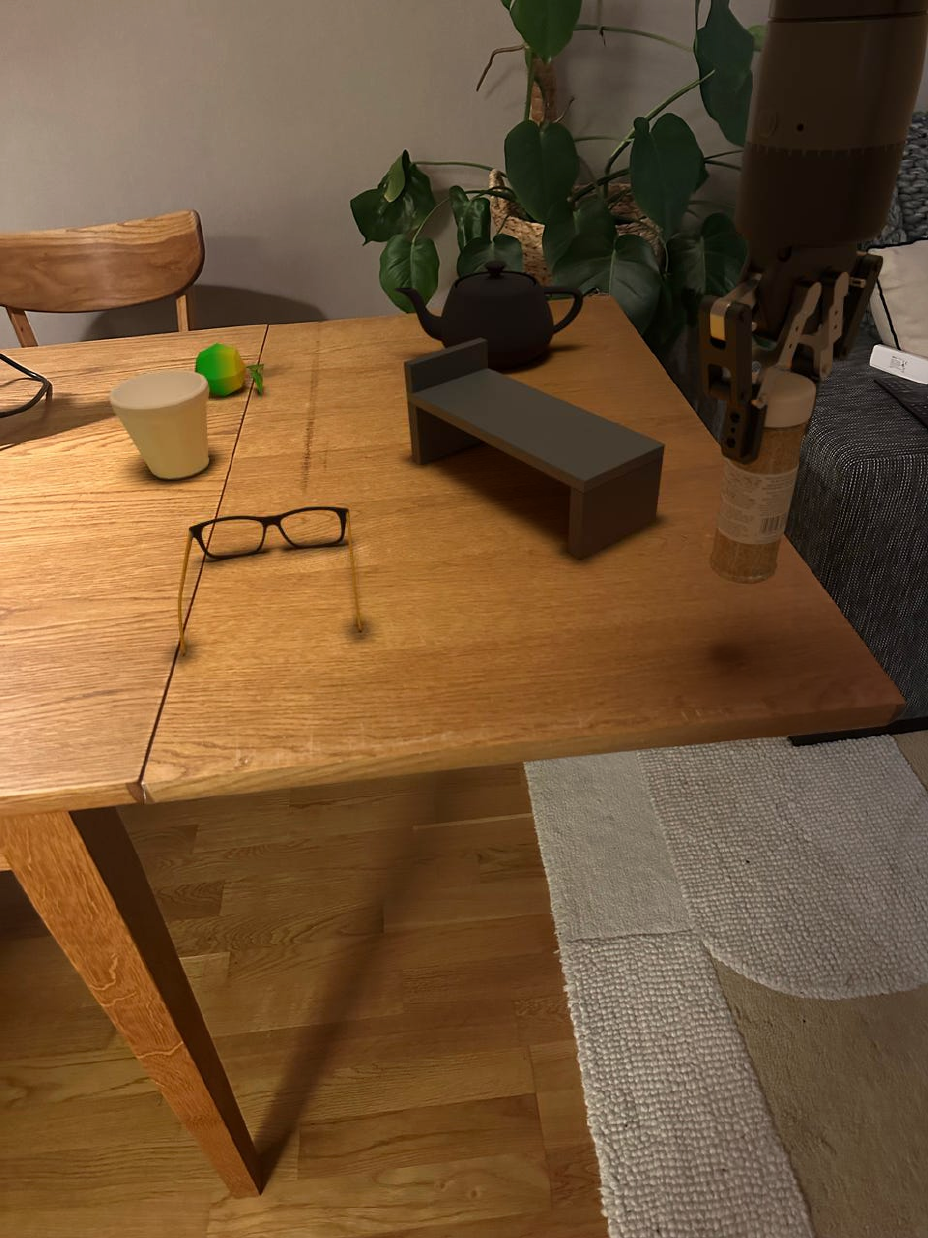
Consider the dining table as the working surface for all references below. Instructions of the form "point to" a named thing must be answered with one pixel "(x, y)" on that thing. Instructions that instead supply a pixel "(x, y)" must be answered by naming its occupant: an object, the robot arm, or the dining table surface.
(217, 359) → the apple
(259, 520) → the eyeglasses
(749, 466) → the sprinkles bottle
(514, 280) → the teapot
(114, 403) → the cup
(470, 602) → the dining table surface
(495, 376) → the shelf
